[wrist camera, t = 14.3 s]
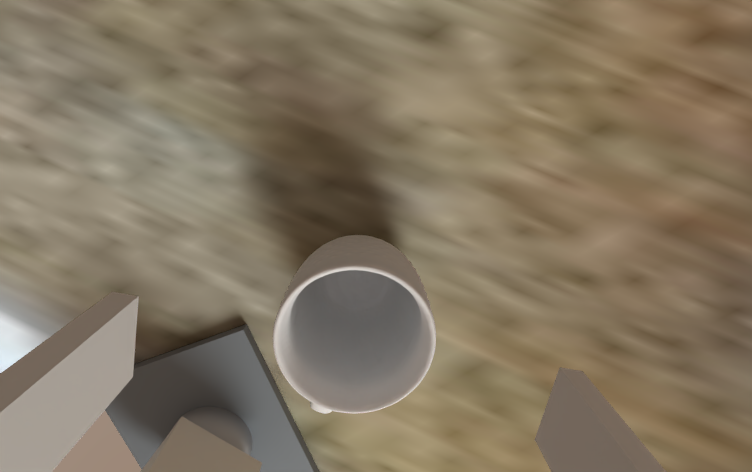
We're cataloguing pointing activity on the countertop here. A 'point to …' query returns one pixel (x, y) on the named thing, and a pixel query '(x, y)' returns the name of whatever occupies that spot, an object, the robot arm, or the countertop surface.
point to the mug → (354, 327)
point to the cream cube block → (198, 453)
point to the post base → (211, 402)
